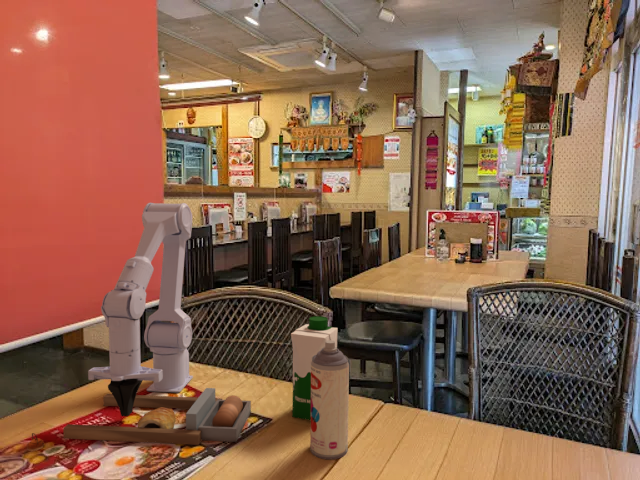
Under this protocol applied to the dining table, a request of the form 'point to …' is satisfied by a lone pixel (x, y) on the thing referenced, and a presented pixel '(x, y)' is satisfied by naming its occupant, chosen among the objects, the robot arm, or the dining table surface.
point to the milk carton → (307, 361)
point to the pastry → (158, 419)
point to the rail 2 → (132, 434)
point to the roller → (228, 412)
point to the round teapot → (35, 444)
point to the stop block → (200, 409)
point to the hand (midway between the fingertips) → (126, 414)
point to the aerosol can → (329, 403)
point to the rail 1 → (156, 401)
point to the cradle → (224, 433)
